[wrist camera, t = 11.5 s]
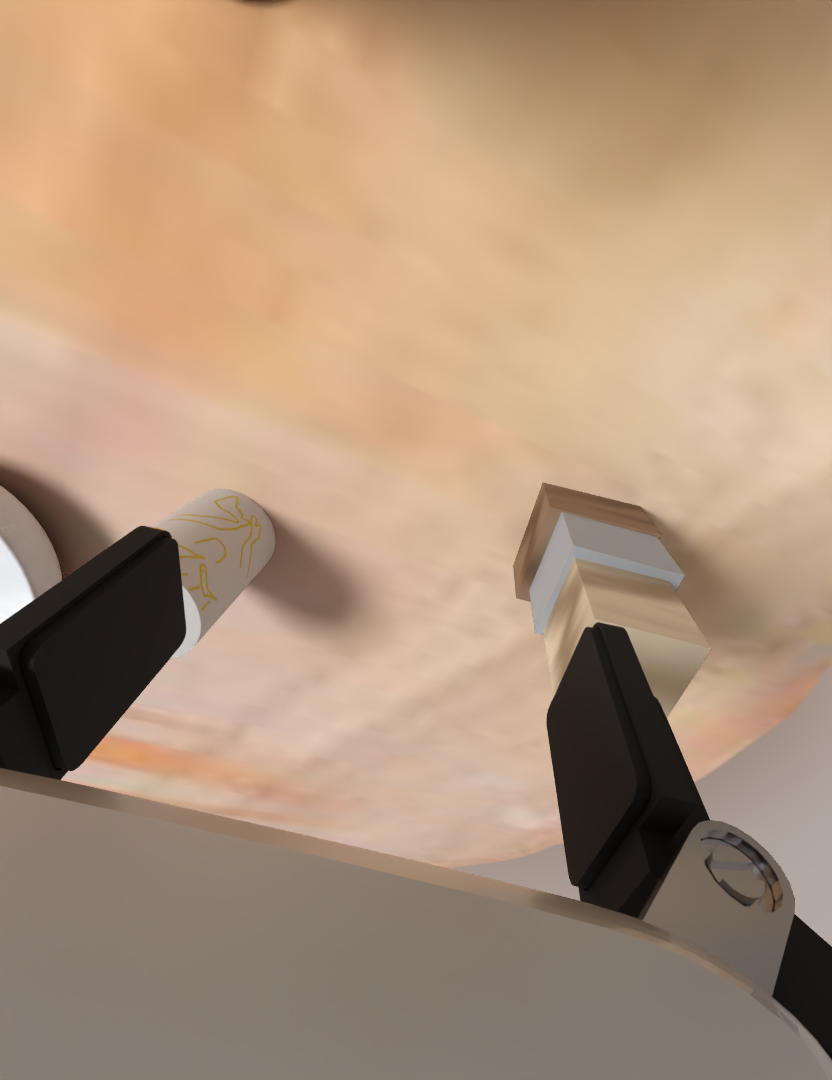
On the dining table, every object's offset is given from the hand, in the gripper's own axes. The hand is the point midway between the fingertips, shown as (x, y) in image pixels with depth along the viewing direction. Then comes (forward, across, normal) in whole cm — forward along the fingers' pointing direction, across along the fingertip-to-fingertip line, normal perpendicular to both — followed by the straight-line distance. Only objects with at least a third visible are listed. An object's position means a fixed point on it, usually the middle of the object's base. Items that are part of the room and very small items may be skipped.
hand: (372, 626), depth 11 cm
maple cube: (+16, -12, +8) cm, 21 cm away
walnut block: (+26, -12, +9) cm, 30 cm away
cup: (+26, +16, +15) cm, 34 cm away
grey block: (+21, -12, +8) cm, 26 cm away
